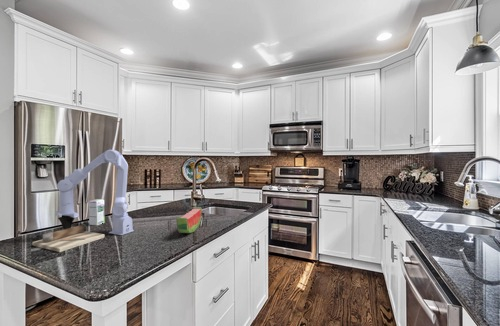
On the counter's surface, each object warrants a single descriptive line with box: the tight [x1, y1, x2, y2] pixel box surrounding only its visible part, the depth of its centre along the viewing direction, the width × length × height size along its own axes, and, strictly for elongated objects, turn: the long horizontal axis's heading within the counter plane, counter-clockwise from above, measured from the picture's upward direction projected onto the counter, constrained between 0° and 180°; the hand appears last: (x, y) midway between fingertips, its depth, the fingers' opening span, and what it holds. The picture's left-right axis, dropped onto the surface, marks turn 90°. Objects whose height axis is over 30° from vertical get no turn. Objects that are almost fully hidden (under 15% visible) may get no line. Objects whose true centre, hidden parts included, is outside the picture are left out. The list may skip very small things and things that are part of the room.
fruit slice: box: [176, 206, 202, 234], centre depth 130 cm, size 26×6×10 cm, turn 175°
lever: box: [42, 223, 87, 242], centre depth 115 cm, size 19×4×3 cm, turn 158°
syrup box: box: [88, 198, 106, 226], centre depth 143 cm, size 6×6×14 cm
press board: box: [32, 230, 105, 253], centre depth 114 cm, size 20×20×2 cm
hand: (67, 230), depth 119 cm, fingers closed
